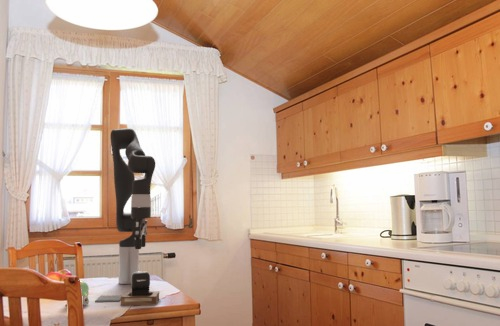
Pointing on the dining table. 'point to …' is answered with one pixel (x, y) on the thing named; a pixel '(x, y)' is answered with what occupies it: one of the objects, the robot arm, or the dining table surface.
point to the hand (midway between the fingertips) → (140, 247)
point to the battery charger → (140, 284)
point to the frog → (84, 292)
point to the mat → (109, 298)
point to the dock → (140, 299)
